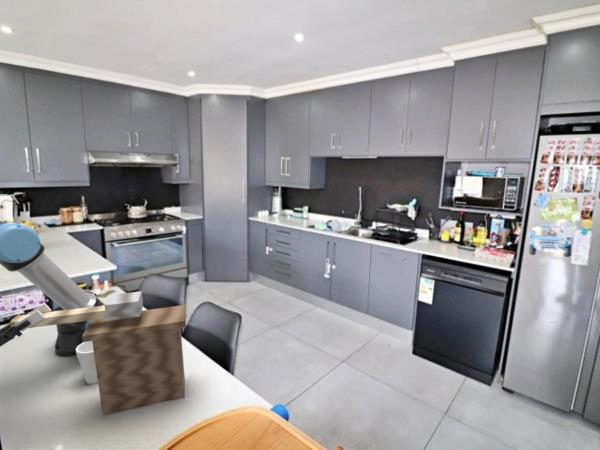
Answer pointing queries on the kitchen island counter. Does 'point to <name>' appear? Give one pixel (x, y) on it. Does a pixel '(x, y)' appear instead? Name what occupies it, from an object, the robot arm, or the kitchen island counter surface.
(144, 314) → the walnut stand
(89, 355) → the foam cup
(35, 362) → the kitchen island counter surface
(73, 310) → the mallet
